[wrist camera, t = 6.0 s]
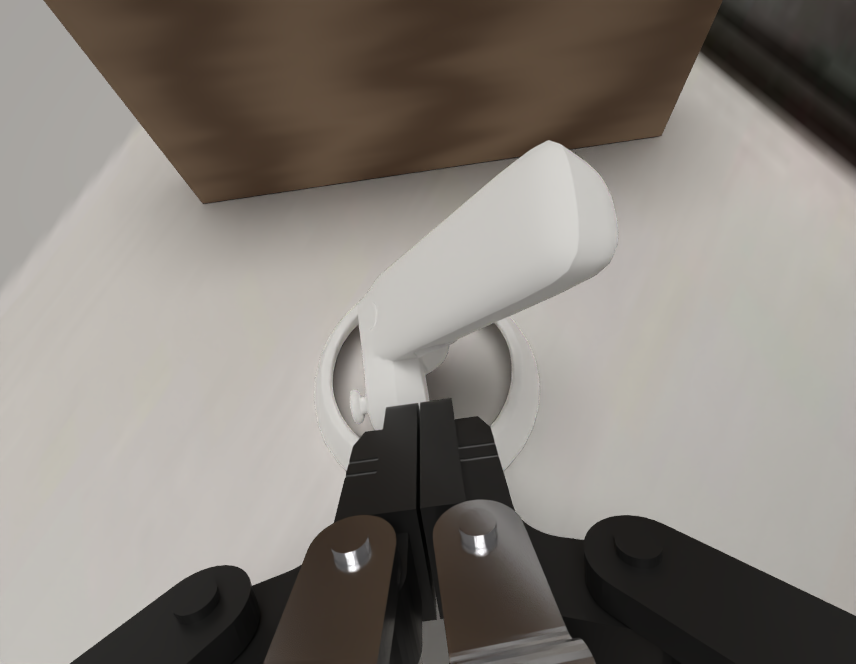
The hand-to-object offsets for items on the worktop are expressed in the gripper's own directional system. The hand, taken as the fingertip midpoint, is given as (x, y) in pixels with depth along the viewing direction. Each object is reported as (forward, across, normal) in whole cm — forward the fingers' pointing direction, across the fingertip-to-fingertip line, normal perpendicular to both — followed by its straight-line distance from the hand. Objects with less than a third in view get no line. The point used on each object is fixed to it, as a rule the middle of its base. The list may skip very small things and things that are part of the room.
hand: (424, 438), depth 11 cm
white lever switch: (+5, 0, +1) cm, 5 cm away
